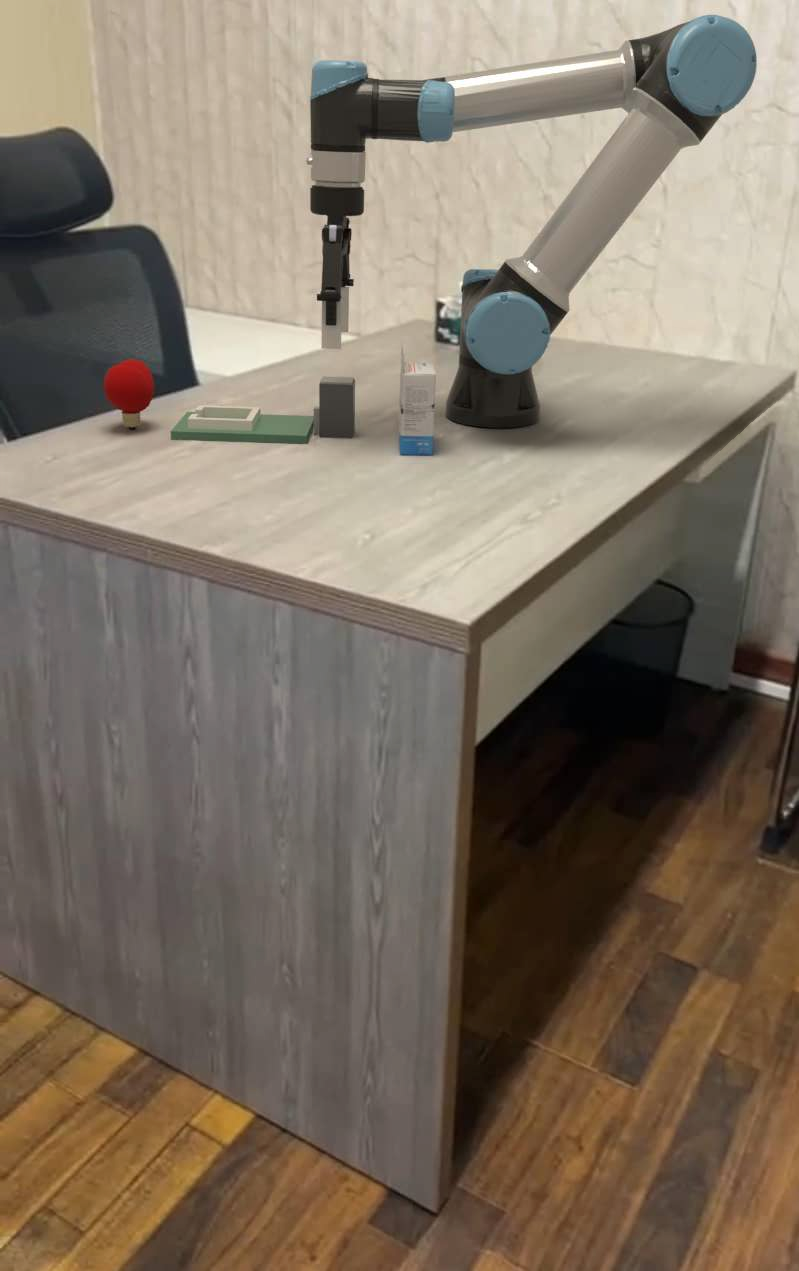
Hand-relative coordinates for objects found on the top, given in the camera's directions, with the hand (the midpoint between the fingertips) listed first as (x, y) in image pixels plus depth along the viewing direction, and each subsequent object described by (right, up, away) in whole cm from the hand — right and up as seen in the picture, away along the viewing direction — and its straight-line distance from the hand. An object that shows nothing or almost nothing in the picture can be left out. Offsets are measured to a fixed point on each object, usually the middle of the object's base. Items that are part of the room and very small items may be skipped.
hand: (335, 339), depth 170 cm
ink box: (+12, -16, 0) cm, 20 cm away
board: (-14, -12, +6) cm, 20 cm away
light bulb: (-31, -12, +6) cm, 34 cm away
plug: (0, -13, +6) cm, 14 cm away
